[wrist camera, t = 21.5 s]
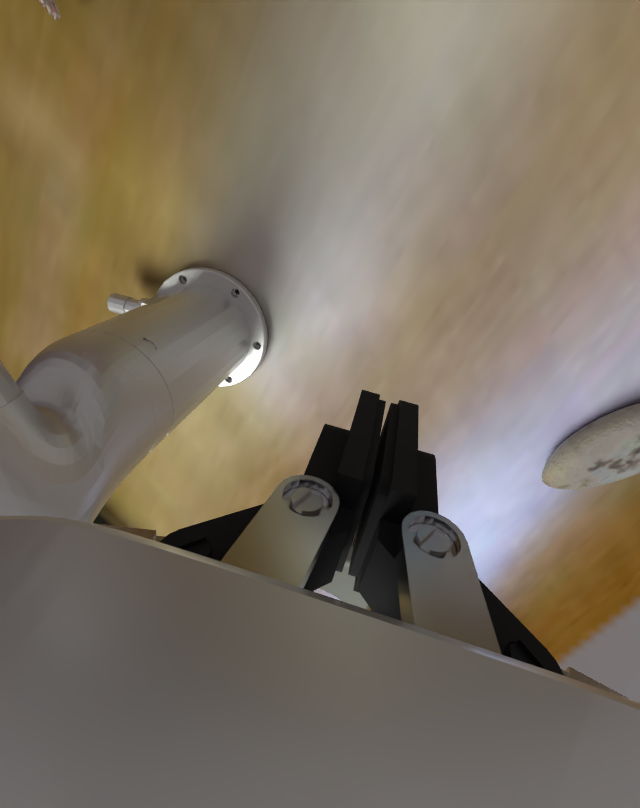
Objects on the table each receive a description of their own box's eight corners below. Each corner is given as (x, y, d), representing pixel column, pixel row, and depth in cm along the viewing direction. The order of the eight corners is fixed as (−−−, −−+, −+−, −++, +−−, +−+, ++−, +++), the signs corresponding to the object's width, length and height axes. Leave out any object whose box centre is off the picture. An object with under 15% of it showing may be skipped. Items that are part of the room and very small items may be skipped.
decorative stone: (727, 411, 35) (756, 432, 32) (557, 491, 42) (567, 513, 39) (691, 362, 33) (717, 378, 31) (522, 453, 41) (530, 473, 38)
